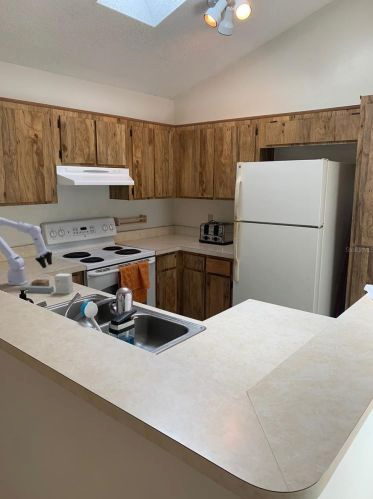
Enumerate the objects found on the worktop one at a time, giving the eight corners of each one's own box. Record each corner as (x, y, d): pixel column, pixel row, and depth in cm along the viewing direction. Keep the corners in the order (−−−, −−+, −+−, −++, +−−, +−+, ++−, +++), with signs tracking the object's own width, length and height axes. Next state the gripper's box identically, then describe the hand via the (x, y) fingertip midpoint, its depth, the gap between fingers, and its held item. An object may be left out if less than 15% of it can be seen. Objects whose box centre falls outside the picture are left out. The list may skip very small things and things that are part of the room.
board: (21, 292, 217) (20, 287, 216) (24, 290, 220) (23, 285, 219) (51, 293, 215) (50, 288, 214) (53, 291, 218) (53, 286, 217)
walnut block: (31, 288, 224) (31, 282, 224) (36, 285, 230) (36, 279, 229) (44, 288, 224) (44, 282, 223) (49, 286, 229) (48, 279, 229)
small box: (73, 291, 218) (72, 273, 216) (69, 294, 213) (68, 275, 211) (60, 290, 219) (58, 273, 217) (55, 293, 214) (54, 275, 211)
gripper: (40, 246, 222) (47, 267, 225) (51, 241, 236) (58, 261, 239) (29, 249, 223) (37, 270, 226) (41, 243, 237) (48, 264, 240)
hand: (47, 266), depth 233 cm, fingers open, 7 cm apart
